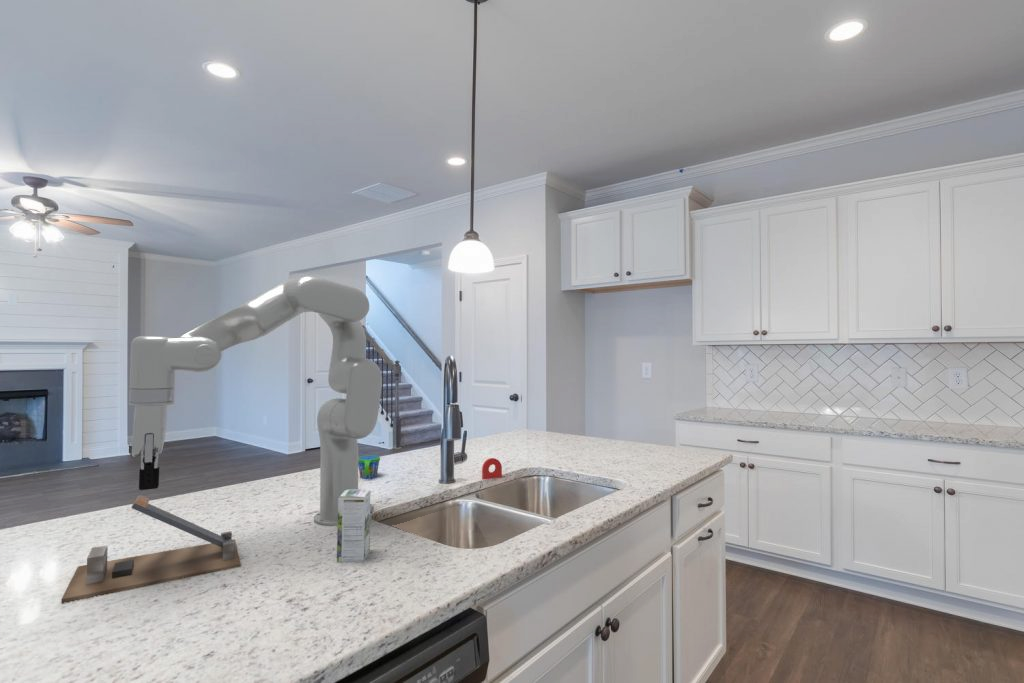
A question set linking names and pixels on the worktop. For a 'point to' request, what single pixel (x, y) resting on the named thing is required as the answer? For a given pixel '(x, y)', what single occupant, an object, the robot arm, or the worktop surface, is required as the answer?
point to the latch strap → (177, 522)
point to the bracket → (495, 473)
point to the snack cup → (368, 466)
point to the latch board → (148, 568)
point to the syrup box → (353, 525)
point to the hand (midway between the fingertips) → (148, 488)
